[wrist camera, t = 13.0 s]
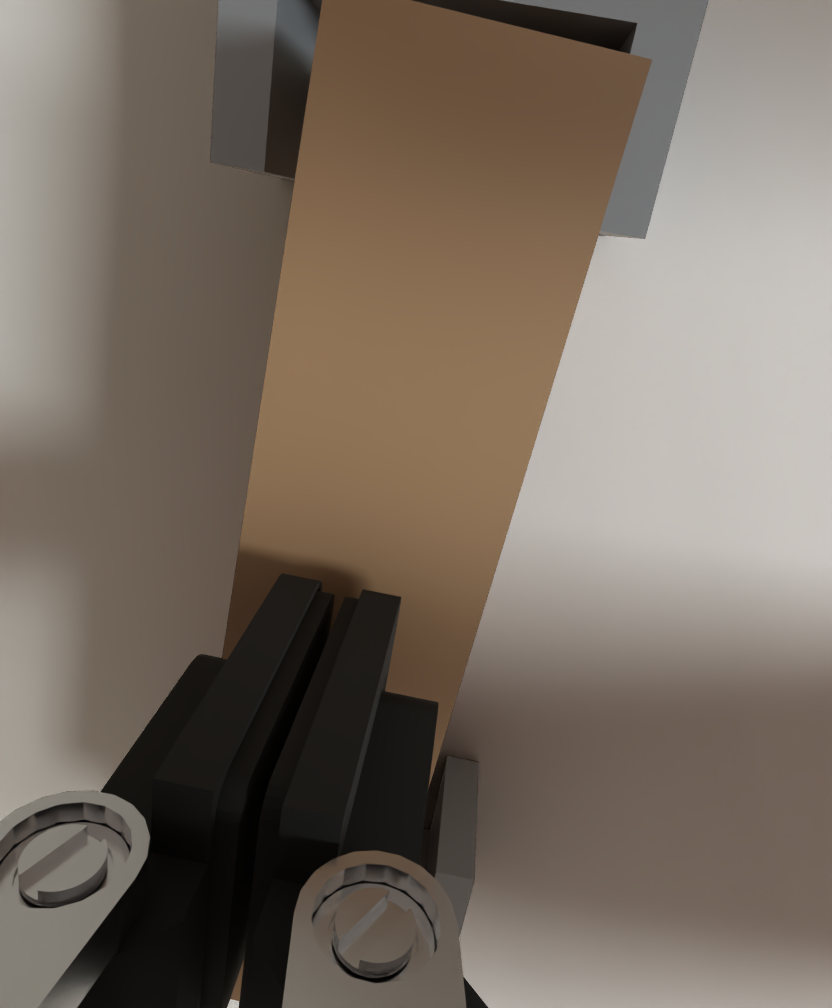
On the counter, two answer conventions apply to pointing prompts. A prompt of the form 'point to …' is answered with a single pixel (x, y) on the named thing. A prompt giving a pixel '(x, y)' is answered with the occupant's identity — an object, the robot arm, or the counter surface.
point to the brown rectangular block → (424, 313)
